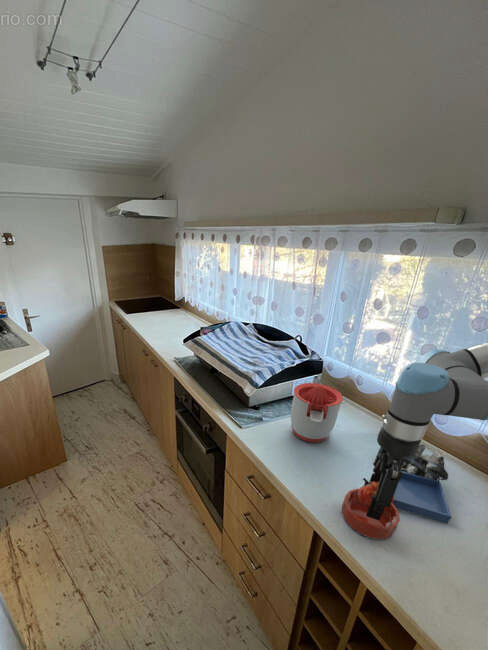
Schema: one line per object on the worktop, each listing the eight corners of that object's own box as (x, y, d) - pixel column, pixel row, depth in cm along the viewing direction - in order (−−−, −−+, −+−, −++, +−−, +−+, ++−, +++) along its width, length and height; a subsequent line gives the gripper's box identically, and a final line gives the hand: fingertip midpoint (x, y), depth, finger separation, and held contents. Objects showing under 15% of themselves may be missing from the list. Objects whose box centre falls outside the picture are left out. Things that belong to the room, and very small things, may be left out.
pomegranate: (389, 513, 78) (369, 475, 82) (410, 513, 71) (387, 470, 75) (364, 523, 76) (345, 483, 80) (384, 523, 70) (362, 479, 73)
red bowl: (391, 509, 82) (397, 498, 80) (396, 548, 72) (402, 536, 70) (342, 494, 87) (345, 483, 85) (340, 528, 77) (344, 516, 75)
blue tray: (437, 488, 89) (440, 481, 87) (447, 523, 78) (451, 516, 77) (384, 473, 94) (387, 467, 93) (388, 505, 83) (391, 498, 82)
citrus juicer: (285, 445, 106) (294, 395, 97) (287, 418, 121) (295, 372, 111) (334, 454, 102) (348, 403, 92) (330, 425, 116) (342, 378, 107)
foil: (428, 446, 100) (453, 450, 86) (422, 478, 99) (447, 488, 85) (387, 437, 103) (406, 439, 89) (381, 468, 103) (399, 476, 88)
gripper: (378, 406, 76) (355, 474, 87) (384, 455, 60) (355, 531, 71) (414, 413, 73) (386, 482, 84) (430, 467, 57) (392, 544, 68)
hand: (372, 505), depth 77 cm, fingers closed on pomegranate, 7 cm apart
